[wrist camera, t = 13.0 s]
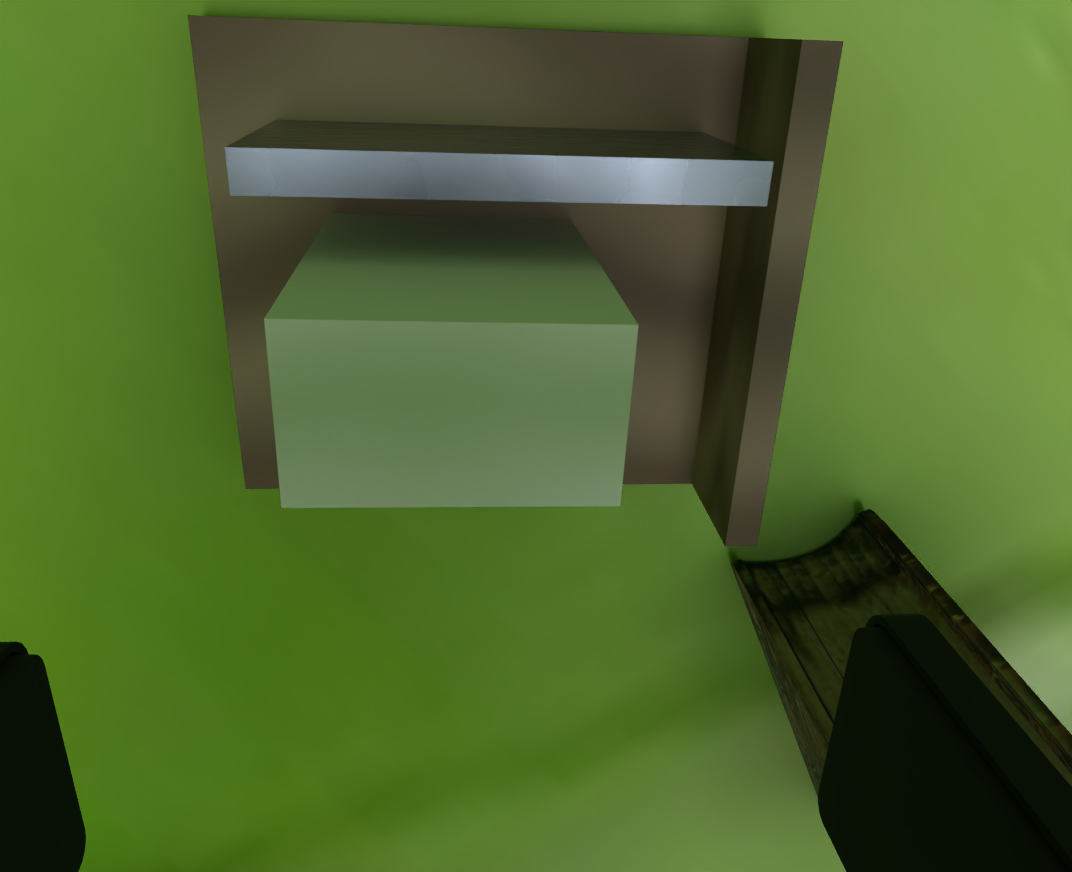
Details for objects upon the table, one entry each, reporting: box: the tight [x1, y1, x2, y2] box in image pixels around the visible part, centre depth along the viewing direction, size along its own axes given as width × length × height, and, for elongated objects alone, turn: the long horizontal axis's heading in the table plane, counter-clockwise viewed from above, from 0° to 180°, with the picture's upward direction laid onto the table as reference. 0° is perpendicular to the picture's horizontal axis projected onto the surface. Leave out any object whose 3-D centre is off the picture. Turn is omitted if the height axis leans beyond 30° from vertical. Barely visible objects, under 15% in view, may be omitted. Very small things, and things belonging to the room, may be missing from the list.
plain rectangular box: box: [264, 213, 639, 508], centre depth 22 cm, size 4×7×10 cm, turn 87°
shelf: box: [188, 15, 843, 546], centre depth 24 cm, size 14×16×8 cm
